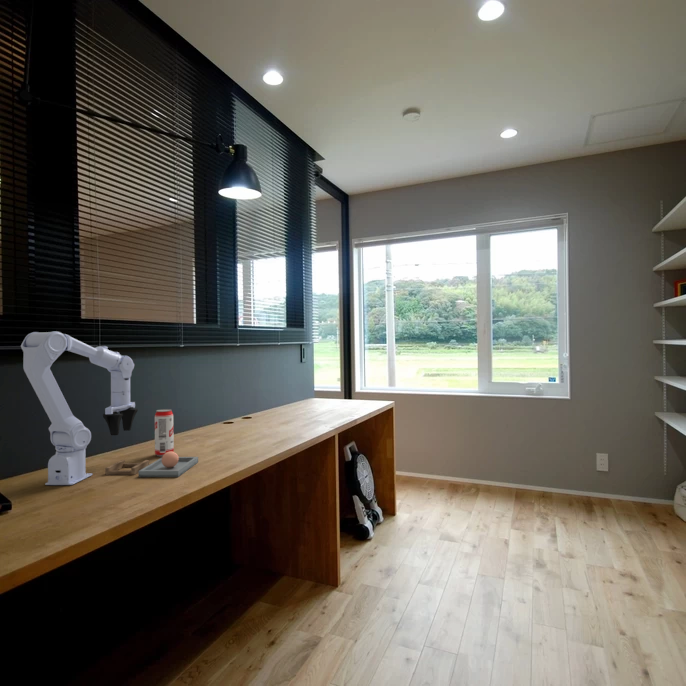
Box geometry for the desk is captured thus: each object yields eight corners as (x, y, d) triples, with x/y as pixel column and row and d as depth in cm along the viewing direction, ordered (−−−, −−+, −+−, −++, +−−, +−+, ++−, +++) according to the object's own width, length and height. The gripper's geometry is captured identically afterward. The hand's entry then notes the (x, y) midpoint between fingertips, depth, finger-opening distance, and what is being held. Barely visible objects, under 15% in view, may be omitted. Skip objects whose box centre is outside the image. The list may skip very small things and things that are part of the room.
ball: (174, 470, 131) (174, 454, 131) (158, 469, 131) (158, 453, 131) (181, 464, 136) (181, 449, 136) (165, 464, 136) (165, 449, 136)
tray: (178, 477, 126) (178, 470, 126) (138, 477, 126) (138, 471, 126) (198, 462, 142) (198, 456, 142) (162, 462, 142) (162, 456, 142)
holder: (134, 474, 129) (134, 468, 129) (105, 474, 129) (105, 468, 129) (148, 466, 138) (148, 460, 138) (121, 466, 138) (121, 460, 138)
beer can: (153, 457, 148) (153, 411, 148) (156, 453, 154) (155, 409, 154) (172, 456, 150) (172, 411, 150) (174, 452, 156) (174, 408, 156)
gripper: (120, 394, 133) (120, 437, 133) (143, 389, 148) (143, 428, 148) (98, 394, 133) (98, 437, 133) (123, 389, 148) (123, 428, 148)
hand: (121, 432), depth 140 cm, fingers open, 7 cm apart
